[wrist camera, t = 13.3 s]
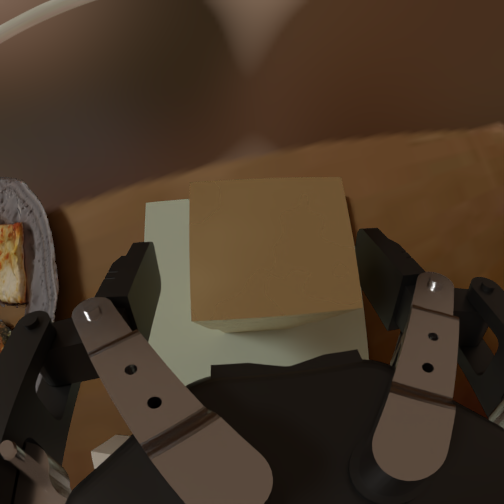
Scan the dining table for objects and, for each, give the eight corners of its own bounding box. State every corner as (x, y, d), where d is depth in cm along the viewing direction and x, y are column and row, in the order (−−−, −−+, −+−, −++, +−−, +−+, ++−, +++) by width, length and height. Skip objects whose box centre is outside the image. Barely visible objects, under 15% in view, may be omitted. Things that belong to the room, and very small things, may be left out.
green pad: (153, 410, 17) (151, 412, 17) (148, 206, 21) (146, 202, 21) (367, 391, 18) (371, 392, 17) (341, 195, 22) (343, 191, 21)
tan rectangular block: (220, 333, 18) (191, 321, 8) (216, 269, 19) (189, 182, 9) (295, 327, 19) (362, 307, 8) (289, 264, 20) (341, 177, 9)
